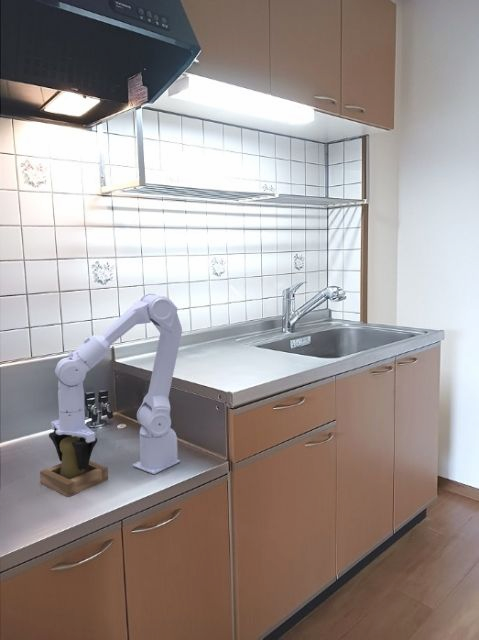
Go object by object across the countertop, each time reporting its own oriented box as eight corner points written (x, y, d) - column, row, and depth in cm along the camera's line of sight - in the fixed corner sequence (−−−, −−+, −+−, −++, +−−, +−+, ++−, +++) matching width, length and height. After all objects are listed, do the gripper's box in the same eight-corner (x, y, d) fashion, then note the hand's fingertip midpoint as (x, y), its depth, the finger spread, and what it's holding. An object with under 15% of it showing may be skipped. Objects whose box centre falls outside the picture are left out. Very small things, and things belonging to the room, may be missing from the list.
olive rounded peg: (62, 490, 115) (60, 444, 113) (56, 480, 120) (55, 436, 118) (88, 484, 118) (87, 439, 116) (82, 474, 123) (80, 431, 122)
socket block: (80, 467, 127) (79, 456, 127) (107, 479, 120) (107, 467, 120) (40, 483, 118) (40, 471, 118) (68, 497, 112) (67, 484, 111)
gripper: (38, 407, 118) (41, 461, 120) (75, 419, 109) (77, 478, 111) (64, 400, 124) (66, 452, 125) (101, 411, 115) (103, 467, 117)
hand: (73, 463), depth 119 cm, fingers open, 7 cm apart
